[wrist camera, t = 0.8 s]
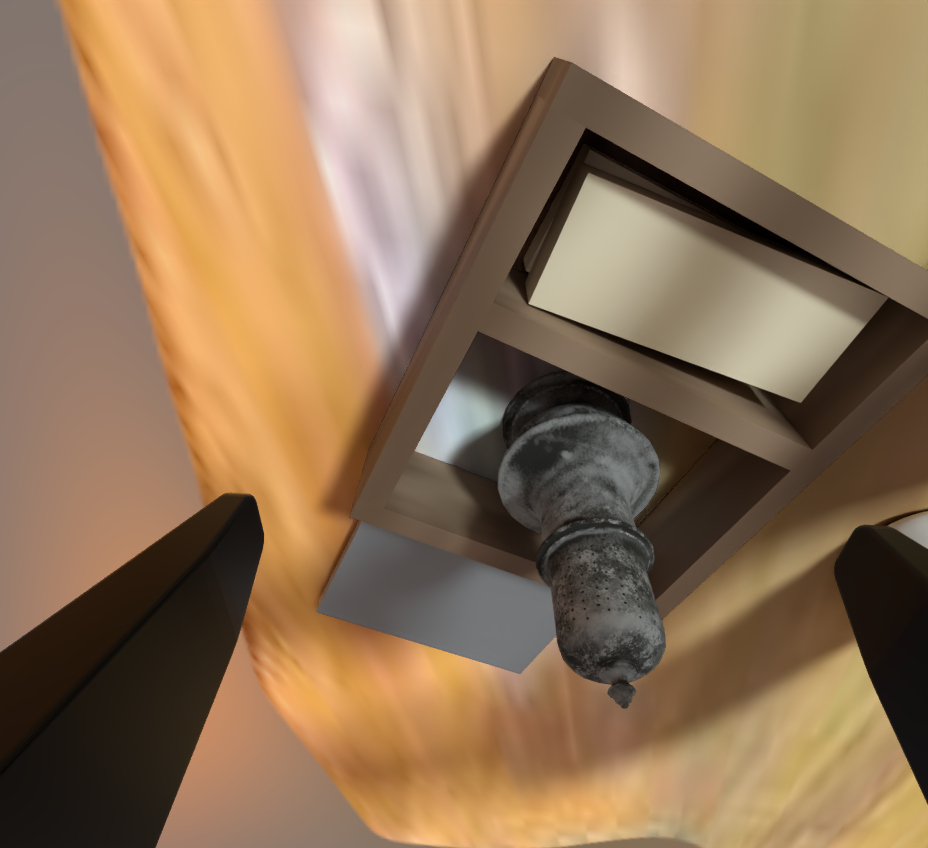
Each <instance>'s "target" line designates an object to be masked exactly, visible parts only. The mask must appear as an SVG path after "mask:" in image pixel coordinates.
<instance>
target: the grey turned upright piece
mask: <svg viewBox="0 0 928 848" xmlns="http://www.w3.org/2000/svg"><path fill="white" fill-rule="evenodd" d="M503 436H504V440H505V443H506V446H507V448H508V450H507V451H506V453H505V454H504V456H503V459H502V461H501V464H500V467H499V469H498V485H497V489H498V492H499V495H500V498H501V501H502V504H503V505H504V507H505V508H506V509H507V511H508V512H509V513H510V515H511V516H512V517H513V518H514V519H516V520H517V521H518V522H519V523H521V524H522V525H523V526H525V527H526V528H529V529H531V530H533V531H536V532H538V533H540V534H542V539H543V542H542V544H541V545H540V547H539V550H538V552H537V554H536V569H537V572H538V575H539V577H540V578H541V580H542V581H543V582H544V583H545V585H547V586H548V587H549V588H551V594H552V603H553V611H554V619H555V627H556V636H557V643H558V646H559V649H560V652H561V655H562V658H563V660H564V661H565V662H566V664H567V665H568V666H569V667H570V668H571V669H572V670H573V671H574V672H575V673H577V674H578V675H580V676H581V677H583V678H586V679H588V680H591V681H594V682H598V683H604V684H611V685H612V686H611V687H610V688H609V689H608V695H609V696H610V697H611V698H613V699H614V700H615V702H616V703H617V704H619V705H621V707H622V708H627V707H628V704H629V703H630V702H631V701H632V696H634V695H635V693H636V689H635V688H634V687H633V686H632V685H630V684H629V682H632V681H635V680H637V679H639V678H641V677H643V676H645V675H647V674H648V673H650V672H651V671H652V670H654V669H655V667H656V666H657V665H658V664H659V662H660V660H661V658H662V656H663V654H664V651H665V647H666V642H665V632H664V627H663V624H662V620H661V617H660V614H659V610H658V607H657V604H656V601H655V597H654V594H653V591H652V587H651V584H650V581H649V577H648V573H649V572H650V570H651V569H652V566H653V562H654V558H655V557H654V551H653V546H652V544H651V542H650V541H649V539H648V537H647V536H646V535H645V534H644V533H643V532H641V531H640V530H639V529H638V528H636V526H635V523H634V520H633V519H634V518H635V517H636V516H637V515H638V514H639V513H640V512H641V511H642V510H643V509H644V508H645V507H646V506H647V505H648V503H649V502H650V500H651V498H652V497H653V495H654V493H655V492H656V489H657V485H658V481H659V477H660V469H659V460H658V456H657V454H656V452H655V450H654V448H653V446H652V444H651V442H650V440H649V439H648V438H646V437H645V436H644V435H643V434H642V433H641V432H640V431H639V430H638V429H637V428H636V427H634V426H632V425H631V416H630V408H629V406H628V404H627V402H626V400H625V398H624V396H622V395H620V394H618V393H615V392H613V391H611V390H609V389H606V388H604V387H602V386H600V385H597V384H595V383H593V382H591V381H588V380H586V379H584V378H582V377H580V376H577V375H575V374H573V373H571V372H568V371H562V372H557V373H553V374H548V375H545V376H543V377H541V378H539V379H537V380H534V381H532V382H530V383H529V384H528V385H527V386H525V387H524V388H523V389H522V390H520V391H519V392H518V393H517V394H516V395H515V397H514V398H513V400H512V401H511V402H510V404H509V405H508V407H507V410H506V413H505V416H504V419H503Z"/></svg>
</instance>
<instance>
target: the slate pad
mask: <svg viewBox="0 0 928 848" xmlns="http://www.w3.org/2000/svg"><path fill="white" fill-rule="evenodd" d="M316 612H318V613H321V614H324V615H327V616H331V617H334V618H337V619H341V620H344V621H347V622H351V623H354V624H357V625H360V626H364V627H367V628H370V629H374V630H377V631H380V632H383V633H387V634H390V635H393V636H397V637H400V638H403V639H406V640H410V641H413V642H416V643H420V644H423V645H426V646H429V647H433V648H436V649H439V650H443V651H446V652H449V653H453V654H456V655H459V656H462V657H466V658H469V659H472V660H476V661H479V662H482V663H485V664H489V665H492V666H495V667H499V668H502V669H505V670H508V671H512V672H515V673H518V674H521V673H522V671H523V670H524V669H525V668H526V667H527V666H528V665H529V664H530V663H531V662H532V661H533V660H534V659H535V658H536V656H537V655H538V654H539V653H540V652H541V651H542V650H543V649H544V648H545V647H546V646H547V645H548V644H549V643H550V642H551V640H552V639H553V638H554V637H555V636H556V627H555V619H554V611H553V603H552V594H551V588H549V587H548V586H546V585H544V584H541V583H538V582H535V581H532V580H529V579H526V578H523V577H521V576H518V575H515V574H512V573H509V572H506V571H503V570H500V569H497V568H495V567H492V566H489V565H486V564H483V563H480V562H477V561H474V560H471V559H469V558H466V557H463V556H460V555H457V554H454V553H451V552H448V551H446V550H443V549H440V548H437V547H434V546H431V545H428V544H425V543H422V542H420V541H417V540H414V539H411V538H408V537H405V536H402V535H399V534H397V533H394V532H391V531H388V530H385V529H382V528H379V527H376V526H373V525H371V524H368V523H365V522H362V521H358V523H357V525H356V527H355V529H354V531H353V533H352V535H351V537H350V539H349V541H348V543H347V545H346V547H345V549H344V551H343V553H342V555H341V557H340V559H339V561H338V563H337V565H336V567H335V569H334V571H333V573H332V575H331V577H330V579H329V581H328V583H327V585H326V587H325V589H324V591H323V593H322V595H321V597H320V600H319V604H318V607H317V610H316Z"/></svg>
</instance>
